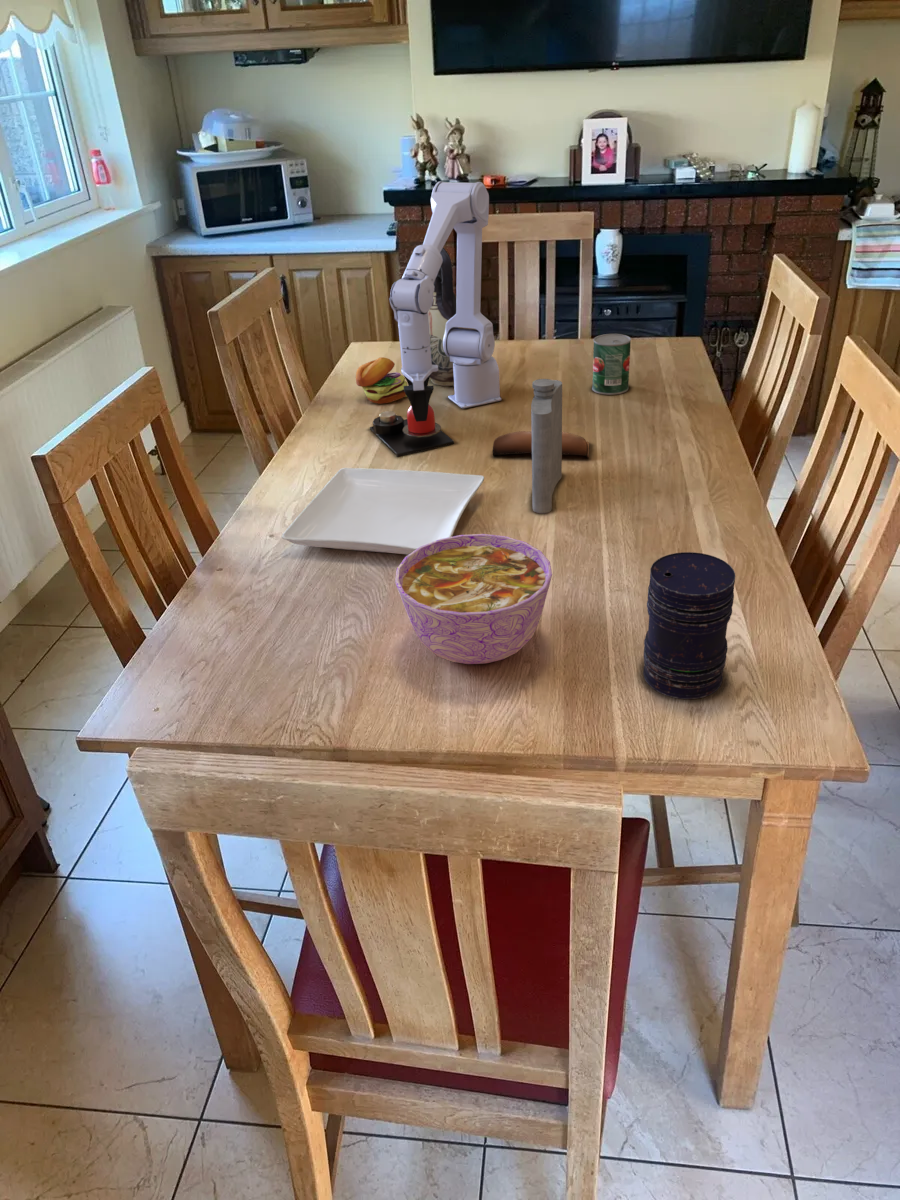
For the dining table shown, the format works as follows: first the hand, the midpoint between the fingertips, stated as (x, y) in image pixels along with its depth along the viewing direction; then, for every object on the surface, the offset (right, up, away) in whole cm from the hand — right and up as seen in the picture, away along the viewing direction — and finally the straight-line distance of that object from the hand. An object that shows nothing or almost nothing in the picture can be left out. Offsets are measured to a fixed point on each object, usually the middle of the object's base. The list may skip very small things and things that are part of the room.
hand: (420, 413), depth 181 cm
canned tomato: (+41, +9, +21) cm, 47 cm away
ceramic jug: (+6, +14, +31) cm, 34 cm away
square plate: (-4, -24, -27) cm, 36 cm away
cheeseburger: (-9, +8, +24) cm, 27 cm away
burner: (0, -3, +2) cm, 3 cm away
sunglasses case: (+23, -8, -5) cm, 25 cm away
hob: (-2, -4, +4) cm, 6 cm away
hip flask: (+22, -18, -20) cm, 35 cm away
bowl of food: (+9, -43, -58) cm, 73 cm away
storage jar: (+35, -46, -66) cm, 88 cm away
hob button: (-7, -1, +6) cm, 9 cm away
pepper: (0, -3, +2) cm, 3 cm away
